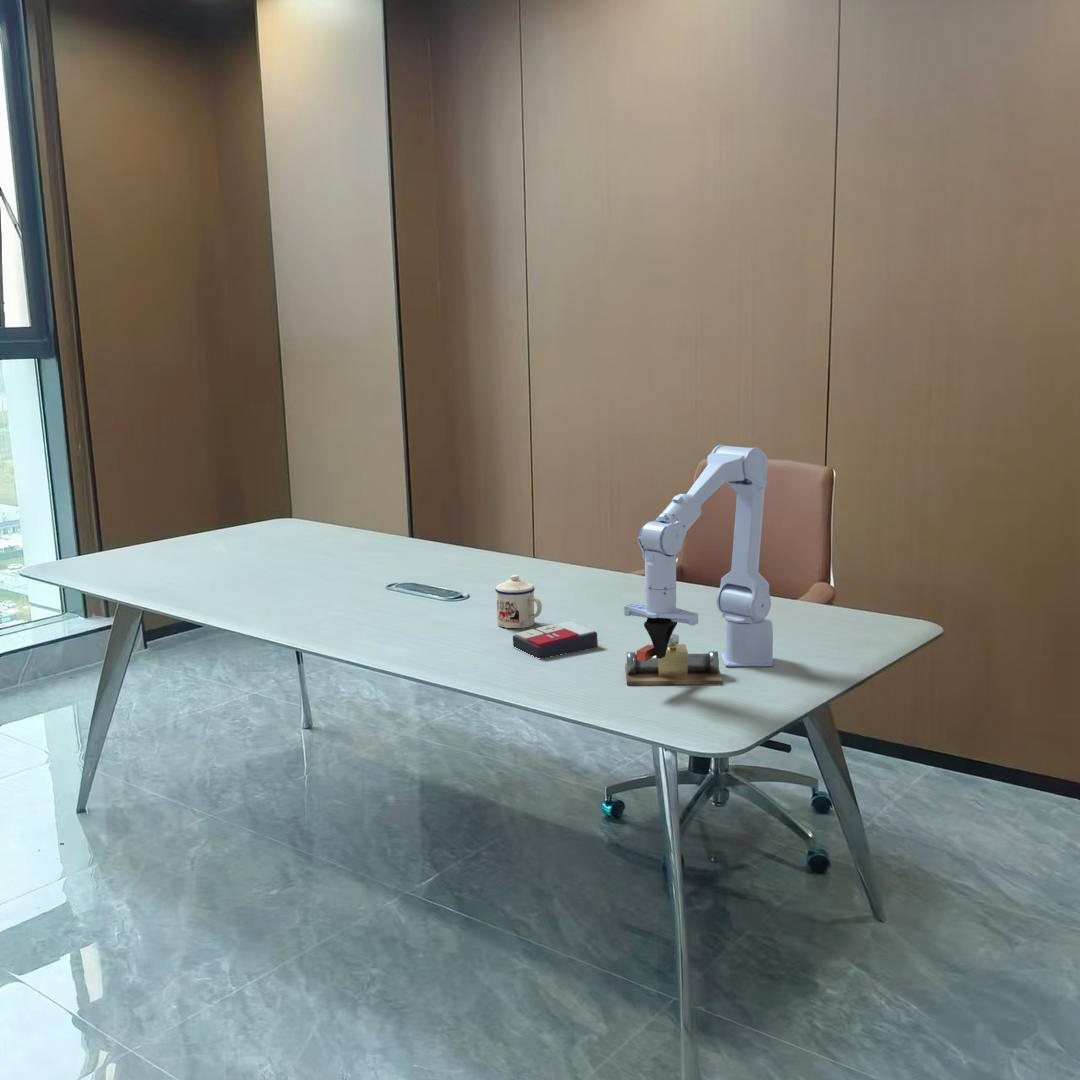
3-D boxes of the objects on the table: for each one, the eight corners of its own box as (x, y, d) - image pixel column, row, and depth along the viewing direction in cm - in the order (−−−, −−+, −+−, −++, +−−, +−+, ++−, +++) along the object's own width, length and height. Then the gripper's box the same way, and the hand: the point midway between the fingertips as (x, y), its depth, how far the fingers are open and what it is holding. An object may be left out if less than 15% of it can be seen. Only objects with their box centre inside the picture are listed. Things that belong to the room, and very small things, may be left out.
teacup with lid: (488, 626, 248) (486, 577, 246) (513, 617, 255) (511, 569, 253) (529, 633, 241) (528, 583, 239) (553, 624, 248) (552, 575, 246)
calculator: (511, 632, 230) (569, 618, 238) (512, 651, 231) (570, 636, 239) (537, 644, 221) (597, 629, 229) (539, 663, 222) (598, 648, 230)
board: (715, 666, 214) (715, 662, 214) (721, 684, 203) (721, 680, 203) (625, 667, 215) (624, 663, 215) (627, 685, 204) (626, 681, 204)
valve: (715, 669, 211) (716, 640, 210) (718, 677, 206) (719, 648, 205) (626, 670, 212) (626, 641, 211) (627, 678, 207) (627, 649, 206)
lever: (681, 642, 208) (681, 633, 208) (647, 661, 197) (647, 652, 196) (669, 640, 210) (669, 631, 209) (634, 659, 198) (634, 650, 198)
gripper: (615, 586, 198) (616, 656, 201) (686, 595, 190) (685, 668, 193) (634, 578, 204) (635, 647, 207) (703, 587, 196) (703, 658, 198)
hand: (660, 657), depth 200 cm, fingers closed
